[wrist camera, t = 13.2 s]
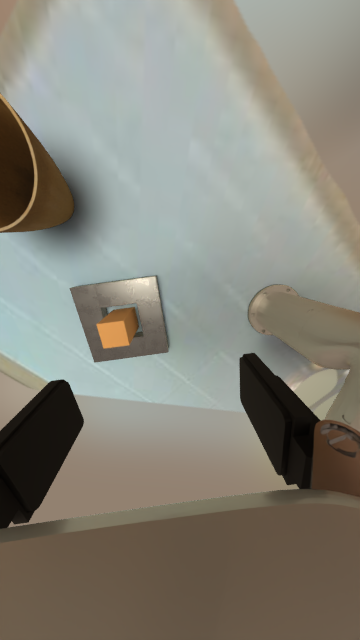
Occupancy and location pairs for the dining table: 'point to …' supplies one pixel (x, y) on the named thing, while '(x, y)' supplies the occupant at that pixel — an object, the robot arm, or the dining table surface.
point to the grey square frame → (123, 292)
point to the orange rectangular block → (118, 327)
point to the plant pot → (28, 179)
